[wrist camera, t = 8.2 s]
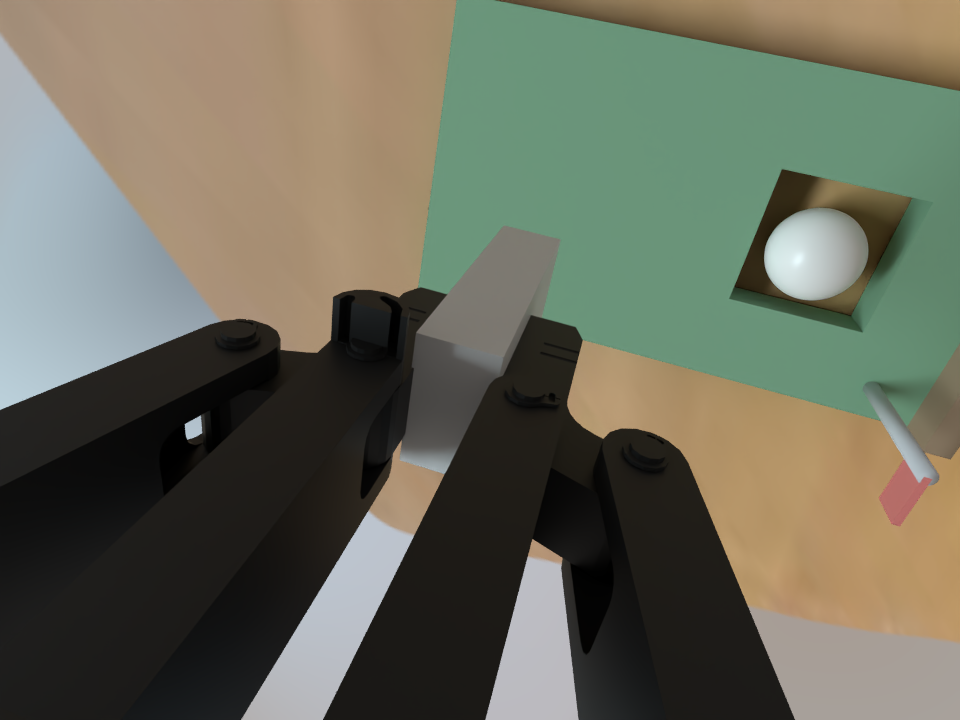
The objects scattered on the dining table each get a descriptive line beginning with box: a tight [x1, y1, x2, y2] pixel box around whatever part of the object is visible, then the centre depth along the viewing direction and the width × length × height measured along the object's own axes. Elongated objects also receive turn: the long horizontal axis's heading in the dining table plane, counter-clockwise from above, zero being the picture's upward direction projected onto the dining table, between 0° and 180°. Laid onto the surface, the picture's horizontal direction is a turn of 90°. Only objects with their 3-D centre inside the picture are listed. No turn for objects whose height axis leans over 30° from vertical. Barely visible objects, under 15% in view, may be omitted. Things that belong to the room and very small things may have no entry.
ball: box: [764, 208, 868, 300], centre depth 27 cm, size 4×4×4 cm
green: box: [418, 0, 960, 526], centre depth 25 cm, size 15×26×9 cm, turn 80°
